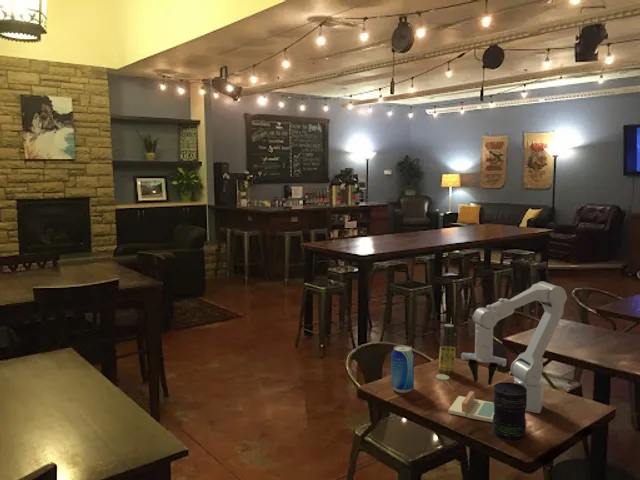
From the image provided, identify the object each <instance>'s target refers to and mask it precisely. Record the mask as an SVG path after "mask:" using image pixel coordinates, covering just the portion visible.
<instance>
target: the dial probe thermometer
mask: <svg viewBox="0 0 640 480" xmlns="http://www.w3.org/2000/svg"><path fill="white" fill-rule="evenodd" d="M435 378H436V379H437V380H439V381H445V382H446V384H447V385H448V386H449V387H450V388H451V389H452V390H454V391H455V389H454V387H452V386H451V384H450V383H449V382H448V380H450V376H449V374H448V375H446V374H442V373H438V374H436V376H435Z"/></svg>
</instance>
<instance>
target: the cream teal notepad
mask: <svg viewBox="0 0 640 480" xmlns="http://www.w3.org/2000/svg"><path fill="white" fill-rule="evenodd" d="M475 399H476V398H475ZM493 415H494V402H492V401H486V400H482V399H476V401H475V402H474V404H473V406H472V407H471V409H470V410H469V412H468V413H467V416H466V418H469V419H473V420H479V421H483V422H488V423H492V424H493Z"/></svg>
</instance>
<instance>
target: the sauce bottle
mask: <svg viewBox="0 0 640 480" xmlns="http://www.w3.org/2000/svg"><path fill="white" fill-rule="evenodd" d="M454 330H455V325H454V324H451V323H445V324H443V335H442V337H441V339H440V340H439V341H440V342H439V343H440V344H439V345H440V346H439V357H438V361H439V362H438V373H439V374H446V375H448V376H449V375H453V374H454V372H455V368H456V367H455V366H456V365H455V363H456V349H457V348H456V347H457V346H456V345H457V344H456V343H457V342H456V338H455V337H454Z"/></svg>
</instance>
